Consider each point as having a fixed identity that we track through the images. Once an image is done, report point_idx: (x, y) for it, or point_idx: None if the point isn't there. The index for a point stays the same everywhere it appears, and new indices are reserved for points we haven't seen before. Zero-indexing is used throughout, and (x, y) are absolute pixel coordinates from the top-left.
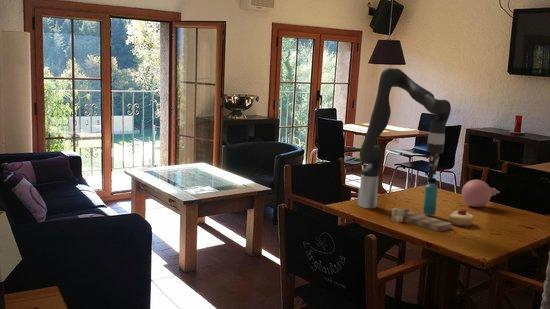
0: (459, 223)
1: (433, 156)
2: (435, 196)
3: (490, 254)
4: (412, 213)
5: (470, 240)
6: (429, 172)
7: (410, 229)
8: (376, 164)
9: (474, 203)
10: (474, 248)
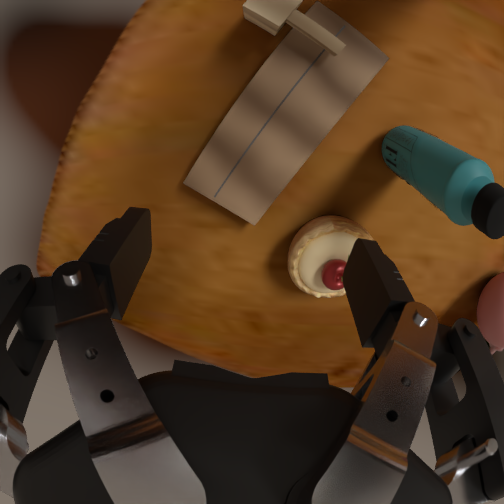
0: (289, 247)
1: (11, 493)
2: (425, 196)
3: None
4: (347, 74)
5: (150, 263)
6: (89, 249)
7: (164, 75)
8: None
9: (483, 294)
10: None
